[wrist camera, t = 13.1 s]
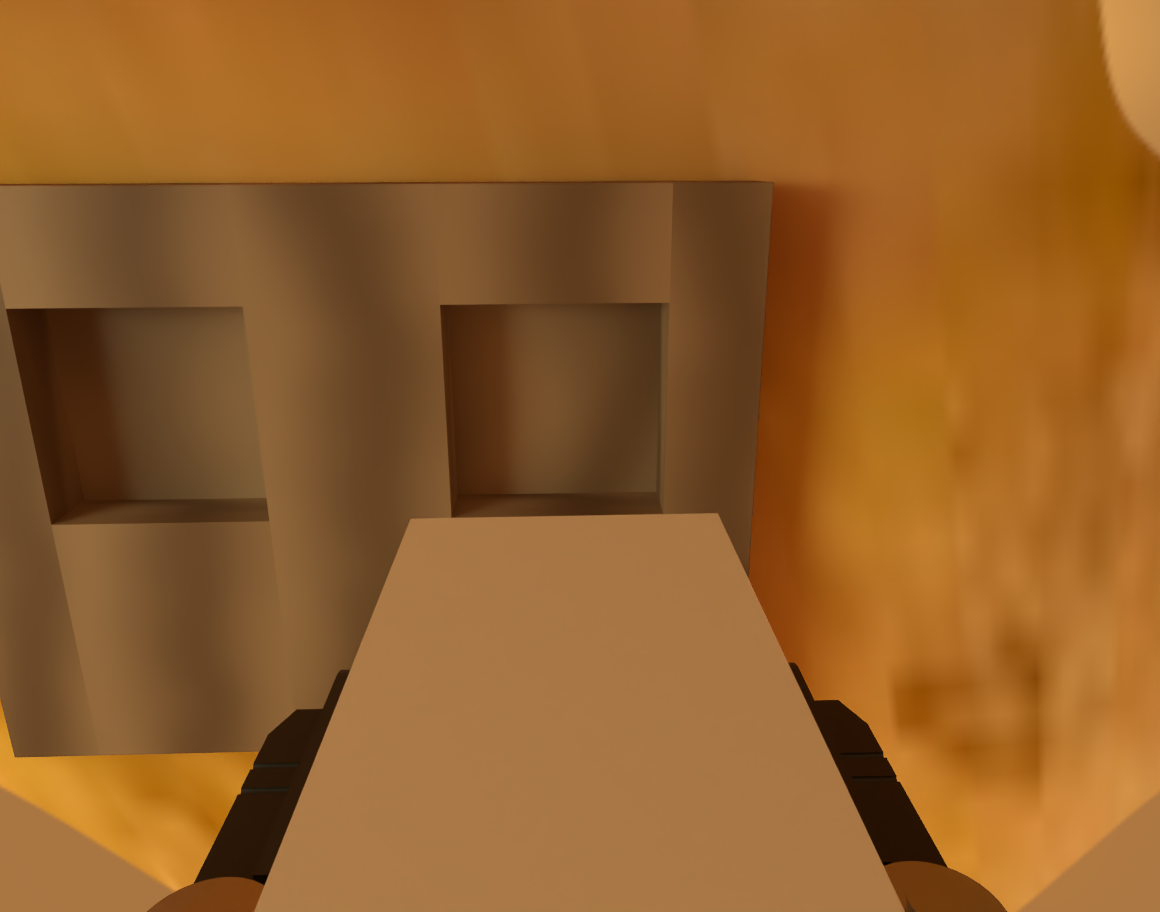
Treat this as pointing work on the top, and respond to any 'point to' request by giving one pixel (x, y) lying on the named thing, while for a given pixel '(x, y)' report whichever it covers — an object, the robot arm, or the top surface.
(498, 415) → the puzzle board
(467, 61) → the top surface
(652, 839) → the cream block
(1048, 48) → the top surface
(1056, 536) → the top surface
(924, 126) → the top surface
